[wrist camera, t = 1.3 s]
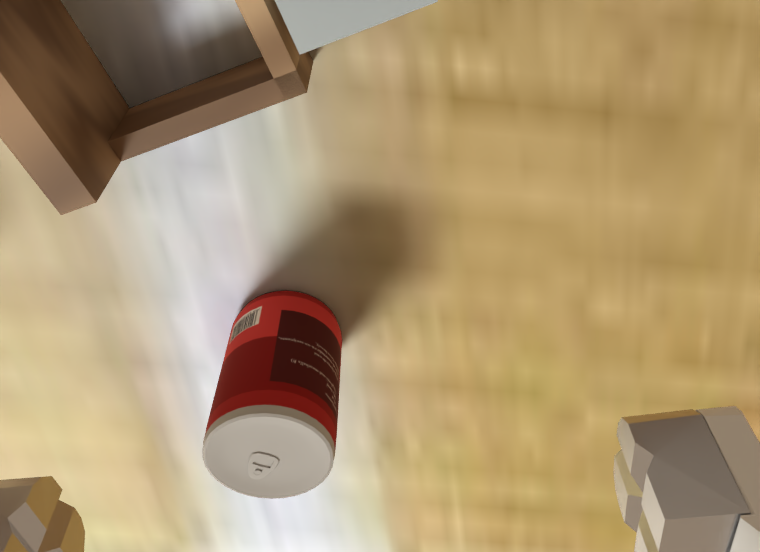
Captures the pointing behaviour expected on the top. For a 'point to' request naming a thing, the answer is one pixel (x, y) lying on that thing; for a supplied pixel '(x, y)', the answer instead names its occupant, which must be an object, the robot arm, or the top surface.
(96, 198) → the brown wooden frame
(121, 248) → the top surface
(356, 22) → the cabinet block
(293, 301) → the canned food
